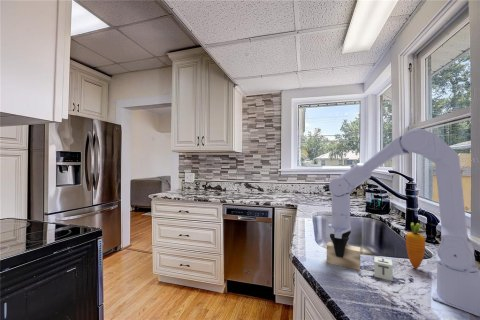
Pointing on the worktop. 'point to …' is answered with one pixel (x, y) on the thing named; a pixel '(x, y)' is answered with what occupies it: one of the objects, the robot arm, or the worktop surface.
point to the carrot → (415, 245)
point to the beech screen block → (349, 258)
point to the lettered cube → (383, 268)
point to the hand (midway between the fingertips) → (340, 253)
